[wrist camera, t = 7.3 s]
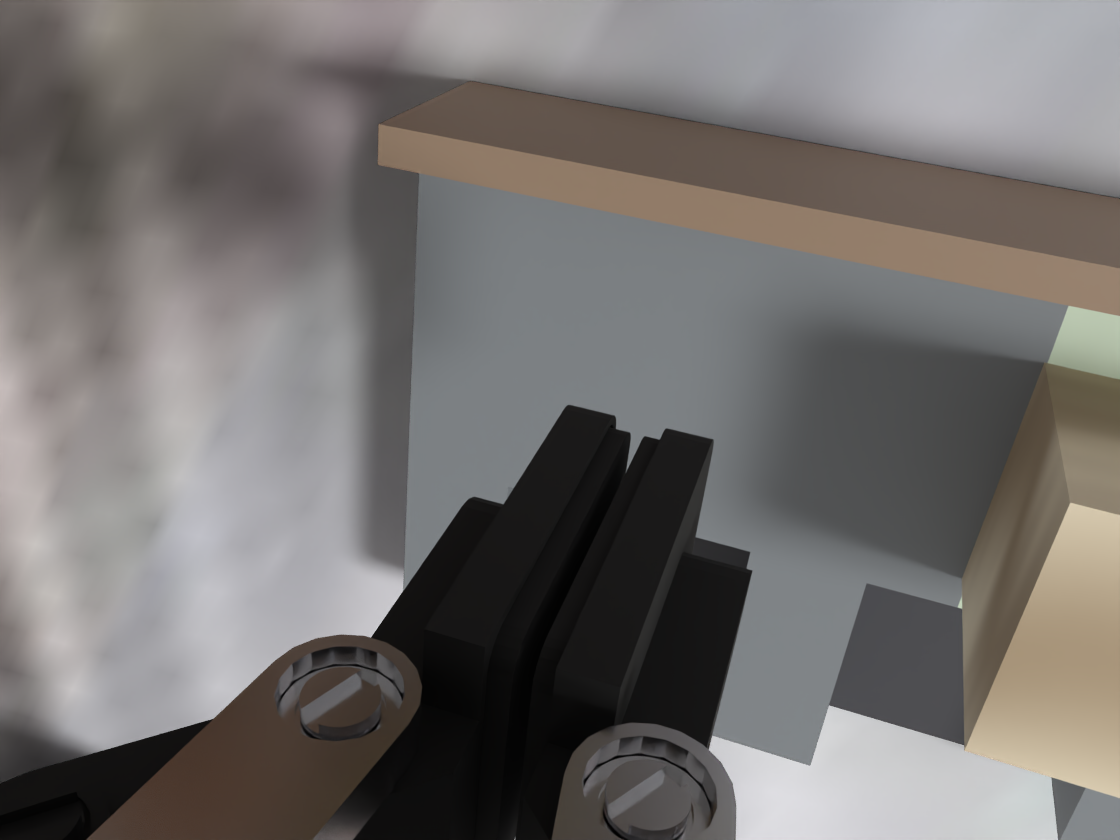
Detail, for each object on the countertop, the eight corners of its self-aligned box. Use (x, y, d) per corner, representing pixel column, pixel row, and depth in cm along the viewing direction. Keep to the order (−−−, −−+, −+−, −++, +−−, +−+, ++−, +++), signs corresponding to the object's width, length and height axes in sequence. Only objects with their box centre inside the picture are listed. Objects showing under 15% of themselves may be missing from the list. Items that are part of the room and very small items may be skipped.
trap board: (470, 81, 18) (378, 123, 15) (1453, 259, 15) (1575, 356, 12) (440, 583, 24) (368, 686, 21) (1158, 795, 21) (1193, 952, 18)
